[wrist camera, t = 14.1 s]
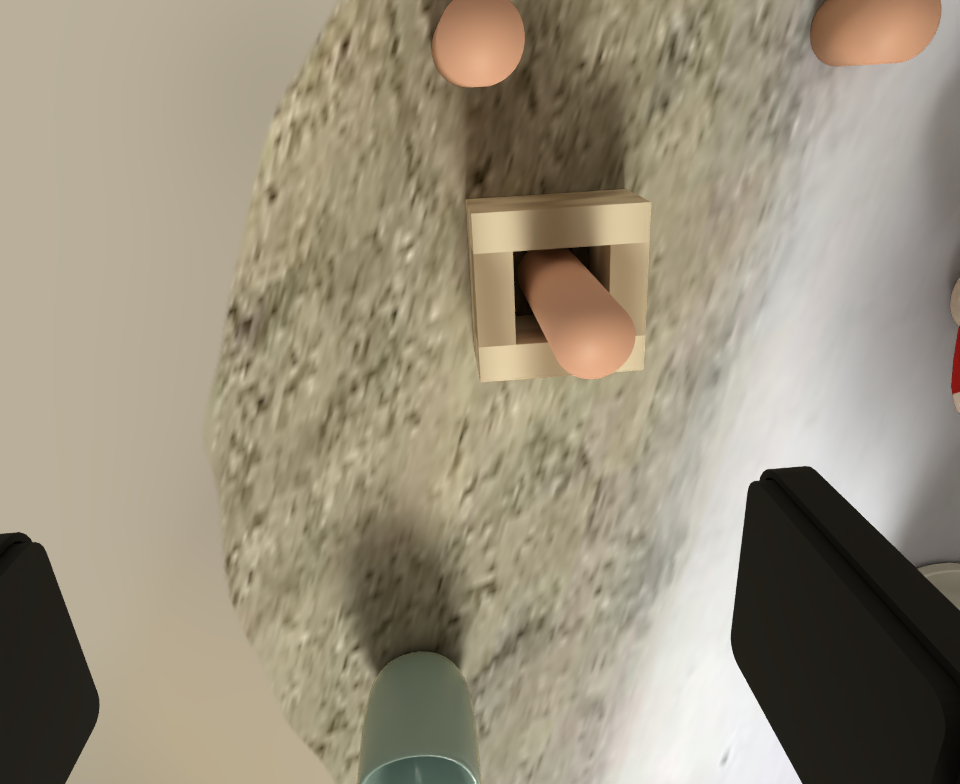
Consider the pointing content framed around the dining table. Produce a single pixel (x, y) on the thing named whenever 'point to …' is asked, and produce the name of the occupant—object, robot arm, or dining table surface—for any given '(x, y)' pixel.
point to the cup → (419, 725)
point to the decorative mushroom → (959, 374)
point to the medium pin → (478, 42)
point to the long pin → (576, 313)
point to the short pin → (873, 30)
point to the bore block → (550, 225)
